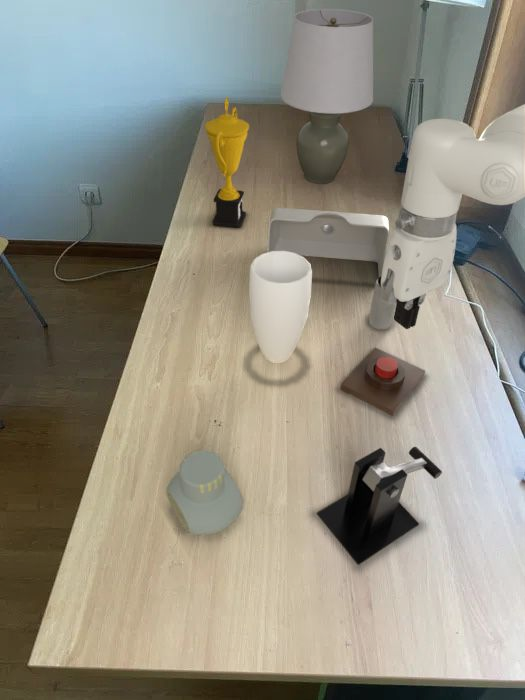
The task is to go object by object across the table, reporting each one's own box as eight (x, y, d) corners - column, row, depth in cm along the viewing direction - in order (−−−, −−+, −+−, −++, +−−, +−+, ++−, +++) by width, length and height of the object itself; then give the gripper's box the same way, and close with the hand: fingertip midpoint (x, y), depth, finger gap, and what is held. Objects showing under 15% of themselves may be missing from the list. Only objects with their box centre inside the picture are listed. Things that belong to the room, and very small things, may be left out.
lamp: (264, 186, 155) (267, 22, 128) (294, 154, 172) (302, 3, 145) (348, 203, 149) (369, 34, 122) (370, 168, 165) (394, 12, 138)
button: (381, 361, 98) (382, 353, 97) (399, 370, 97) (401, 362, 96) (371, 372, 96) (372, 365, 95) (389, 381, 95) (391, 374, 93)
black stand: (374, 482, 84) (389, 426, 75) (417, 528, 78) (438, 474, 70) (315, 517, 79) (324, 462, 71) (357, 568, 74) (371, 516, 65)
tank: (378, 249, 132) (387, 200, 124) (381, 289, 120) (391, 238, 112) (273, 241, 134) (274, 192, 126) (265, 279, 122) (266, 228, 114)
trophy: (240, 244, 133) (239, 115, 113) (200, 240, 134) (192, 111, 114) (255, 206, 147) (256, 84, 127) (219, 202, 148) (214, 81, 128)
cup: (256, 391, 97) (257, 290, 83) (241, 352, 105) (240, 253, 90) (312, 381, 100) (323, 280, 85) (294, 343, 107) (302, 245, 93)
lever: (411, 455, 80) (419, 442, 79) (437, 480, 77) (445, 467, 76) (354, 471, 73) (362, 458, 72) (380, 500, 70) (389, 486, 69)
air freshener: (250, 524, 78) (250, 482, 72) (198, 554, 75) (193, 513, 68) (212, 469, 85) (209, 426, 79) (162, 494, 82) (155, 452, 75)
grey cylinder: (386, 335, 109) (395, 292, 102) (364, 327, 111) (372, 284, 104) (394, 322, 112) (403, 279, 105) (372, 315, 114) (381, 272, 107)
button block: (373, 356, 105) (376, 339, 102) (422, 379, 100) (427, 363, 98) (339, 392, 98) (342, 376, 95) (391, 420, 93) (396, 403, 90)
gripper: (405, 245, 71) (384, 353, 83) (486, 214, 77) (455, 319, 89) (366, 220, 75) (351, 326, 88) (445, 193, 81) (421, 295, 94)
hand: (404, 322), depth 88 cm, fingers closed
